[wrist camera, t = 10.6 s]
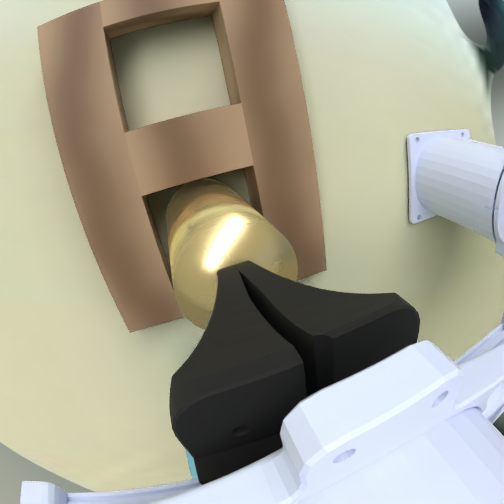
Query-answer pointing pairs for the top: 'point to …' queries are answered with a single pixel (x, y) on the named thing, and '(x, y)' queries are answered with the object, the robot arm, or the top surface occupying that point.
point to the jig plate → (179, 139)
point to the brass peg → (217, 243)
